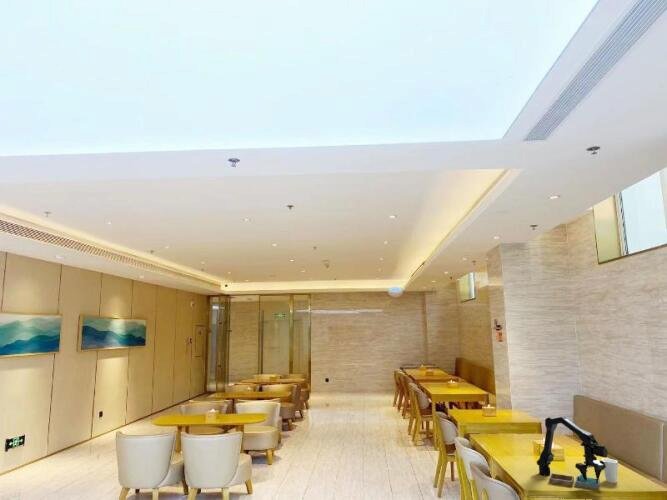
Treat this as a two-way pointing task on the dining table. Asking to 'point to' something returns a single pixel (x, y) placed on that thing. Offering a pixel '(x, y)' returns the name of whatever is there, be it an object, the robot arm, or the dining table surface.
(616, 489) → the dining table surface
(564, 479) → the walnut tray
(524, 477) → the dining table surface
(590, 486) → the charcoal tray
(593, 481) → the teal ball
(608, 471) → the foam cup
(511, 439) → the dining table surface
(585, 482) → the ball
